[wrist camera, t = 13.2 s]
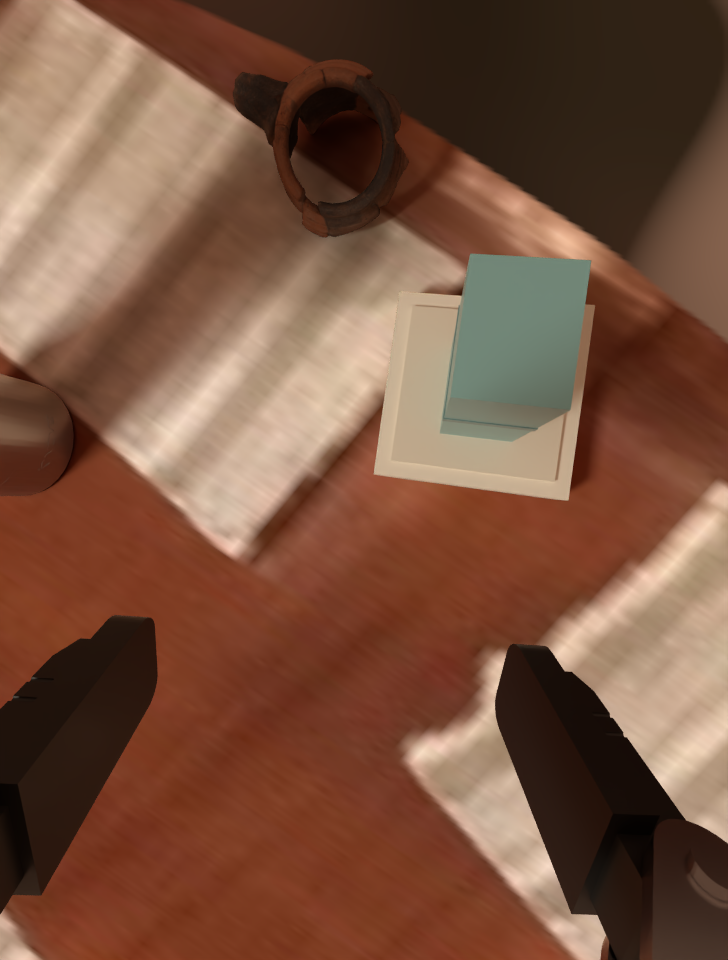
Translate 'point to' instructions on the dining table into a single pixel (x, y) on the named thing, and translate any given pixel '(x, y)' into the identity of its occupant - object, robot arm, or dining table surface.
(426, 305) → the display plinth
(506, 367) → the teal rectangular box
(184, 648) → the dining table surface
